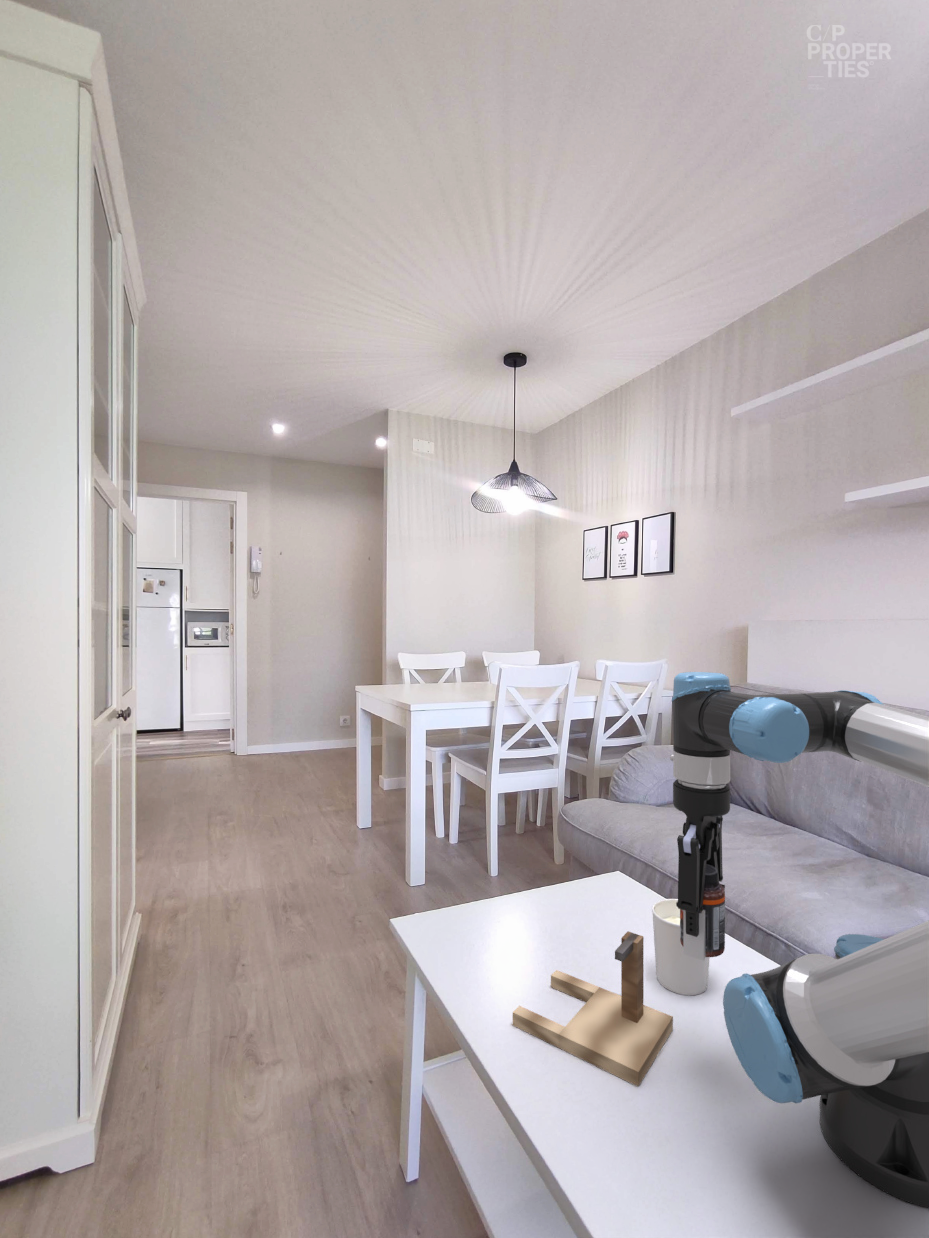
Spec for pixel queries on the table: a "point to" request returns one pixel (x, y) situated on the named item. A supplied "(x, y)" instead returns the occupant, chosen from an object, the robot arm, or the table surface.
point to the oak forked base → (601, 1030)
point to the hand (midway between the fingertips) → (701, 945)
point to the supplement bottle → (712, 914)
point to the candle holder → (675, 953)
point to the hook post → (631, 976)
